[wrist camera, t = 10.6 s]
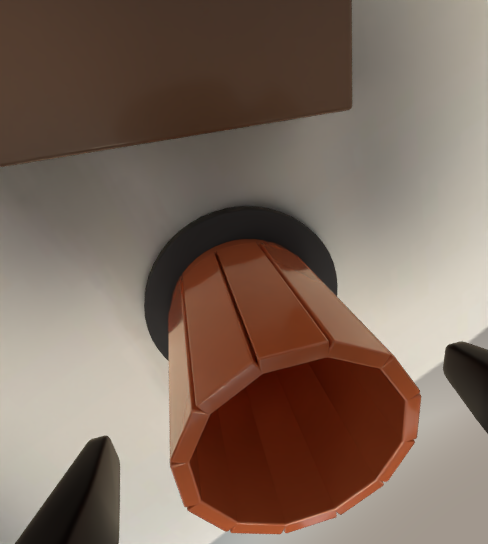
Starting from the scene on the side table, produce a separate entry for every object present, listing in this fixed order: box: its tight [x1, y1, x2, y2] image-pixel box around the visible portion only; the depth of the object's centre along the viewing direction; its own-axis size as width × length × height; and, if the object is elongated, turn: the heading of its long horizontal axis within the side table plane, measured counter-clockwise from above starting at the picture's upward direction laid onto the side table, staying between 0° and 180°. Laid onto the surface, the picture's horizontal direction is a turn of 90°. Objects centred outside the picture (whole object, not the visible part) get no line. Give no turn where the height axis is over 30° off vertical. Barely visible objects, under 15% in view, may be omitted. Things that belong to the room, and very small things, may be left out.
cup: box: [168, 239, 421, 534], centre depth 11 cm, size 6×6×6 cm
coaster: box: [144, 206, 337, 361], centre depth 14 cm, size 8×8×1 cm
